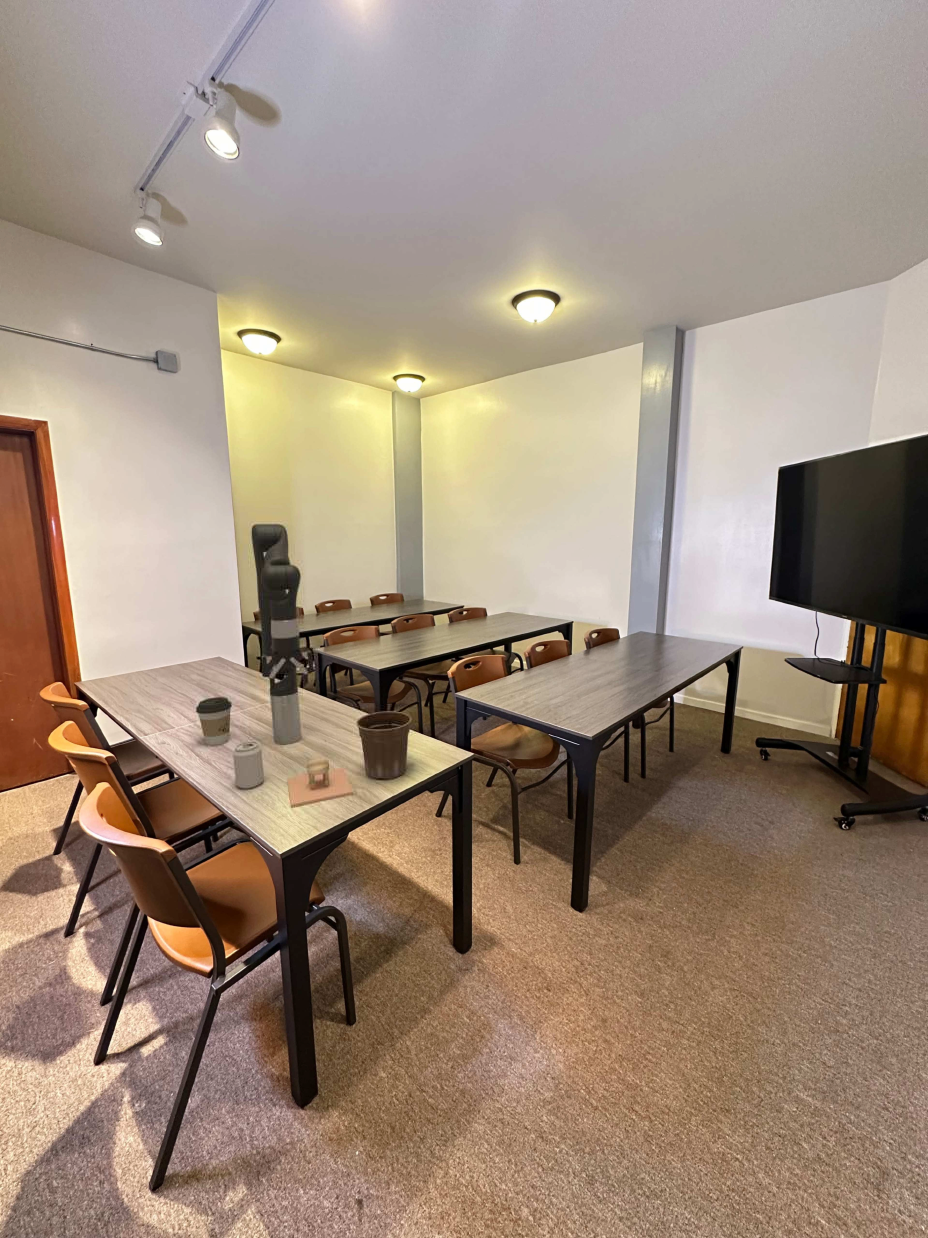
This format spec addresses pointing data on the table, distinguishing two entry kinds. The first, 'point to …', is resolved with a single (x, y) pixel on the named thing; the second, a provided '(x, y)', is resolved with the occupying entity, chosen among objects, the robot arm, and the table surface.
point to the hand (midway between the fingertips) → (289, 687)
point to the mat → (318, 788)
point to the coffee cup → (215, 720)
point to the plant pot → (384, 743)
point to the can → (248, 764)
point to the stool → (318, 771)
